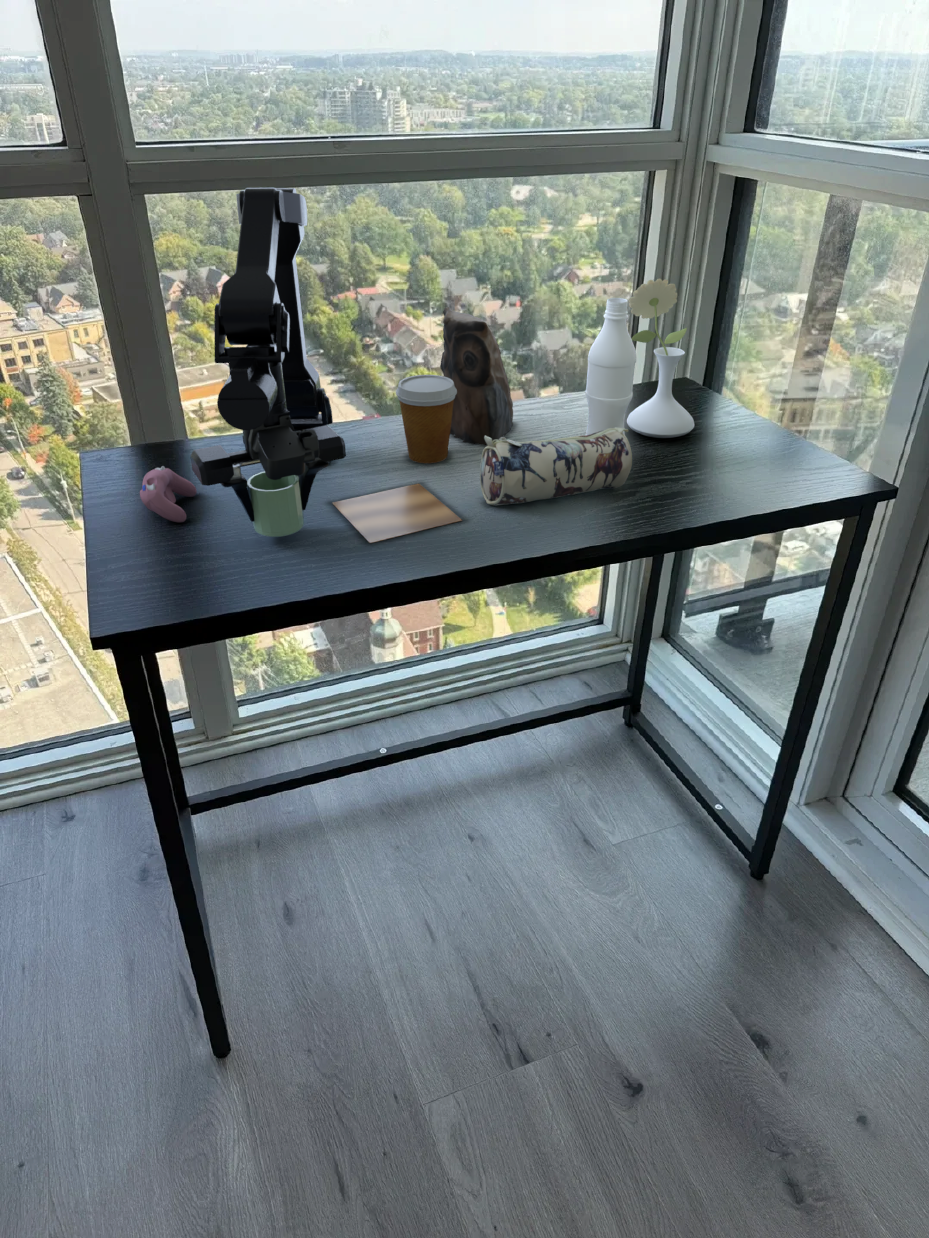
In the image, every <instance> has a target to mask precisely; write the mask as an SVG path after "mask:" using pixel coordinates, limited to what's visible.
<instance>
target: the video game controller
mask: <svg viewBox="0 0 929 1238" xmlns="http://www.w3.org/2000/svg"><path fill="white" fill-rule="evenodd" d="M141 485H142V487H141V489H140V490H139V498H140V500H141V502H142V504H143V505H144V506H145V508H147V510H149V511H151V512H154V513H155V514H157V515H159V516H160V517H162V518H164V519H165V520H168V521H171V522H174V523H184V522H185V521H187V514H186V511H185V510H184V509H183V508H182V507H181V506H179V505H178V504H176V502H177V498H176V496H175V494H176V495H179V496H183V497H190V498H192V497H195V496H196V495H197V492H198V490H197V488H196V486H195V484H193V483H192V482H191V481H190V480H189V479H186V478H185V477H183V476H181V475H179V474H177V473H176V472H175V471H173V470H172V469H170V468H169V467H165V466H164V465H162V466H161V467H155V468H154V469H152V470H149V471H148V472H146V474H145V475H144V477H143V479H142V484H141ZM174 493H175V494H174Z"/></svg>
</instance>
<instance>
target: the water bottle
mask: <svg viewBox="0 0 929 1238" xmlns="http://www.w3.org/2000/svg"><path fill="white" fill-rule="evenodd" d="M628 304H629V299H626V298H623V297H610V298H607V300H606V305H605V311H604V314H603V318H604V321H603V325H602V327H601V330H600V331H599V333H598V334H597V336H596V337H595V339H594V341H593V342H592V345H591V346H590V349H589V352H588V356H587V374H586V387H585V391H584V393H585V396H586V402H587V408H588V418H587V427H586V431H585V434H584V435H586V436H587V435H590V434H593V433H596V432H599V431H603V430H606V429H609V428H615V427H618V428H625V419H626V413H627V410H628V407H629V405H630V403H631V401H632V399H633V396H634V392H633V388H634V387H633V386H634V379H635V369H636V363H637V351H636V348H635V345H634V341H633V340H632V339H631V338H632V337H631V334H630V332H629V329H628V325H627V324H628V323H627V320H628V319H629V315H628V314H629V311H628ZM625 433H626V432H625V431H623V433H622V434H624V435H625V436H626V434H625Z"/></svg>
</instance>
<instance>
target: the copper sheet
mask: <svg viewBox="0 0 929 1238" xmlns="http://www.w3.org/2000/svg"><path fill="white" fill-rule="evenodd" d="M331 504H332V505H333V506H334V507H335V508H336V509H337V510H338V511H339V512H340V514H342V516H343V517H345V518H346V520H347V521H348V522H349V523H350V524H351V525H352V526H353V528H354V529H356V530H357V532H358V533H359V534H360V535H361V536H362V537H363V538H364V539H365V540H366V541H367V543H369V544H374V543H378V542H381V541H386V540H389V539H390V540H391V539H394V538H399V537H402V536H406V535H410V534H414V533H419V532H422V531H426V530H427V531H428V530H430V529H434V528H438V527H443V526H447V525H451V524H454V523H458V522H463V519H462V518H460V516H458V515H457V514H456V513H454V511H452V510H451V509H450V508H449V507H448V506H447V505H445V504H444V503H443V502H442V501H441V500H439V499H438V498H437V497H436V496H435V495H433V494H432V493H431V492H430V491H429V490H427V489H426V488H425V487H424V486H423V485H421V483H420V482H419V483H414V484H410V485H405V486H401V487H397V488H391V489H386V490H382V491H378V492H374V493H370V494H365V495H360V496H356V497H350V498H347V499H342V500H337V501H333V502H331Z"/></svg>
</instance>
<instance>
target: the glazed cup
mask: <svg viewBox="0 0 929 1238" xmlns="http://www.w3.org/2000/svg"><path fill="white" fill-rule="evenodd" d="M247 489H248V493H249V496H250V500H251V504H252V507H253V511H254V521H253V522H252V525H253V530H254V531H255V532H256V533H257V534H259V535H261V536H265V537H269V538H270V537H271V538H279V537H285V536H290V535H294V534H295V533H296V534H297V532H299V531H301V530H302V529H303V527H304V525H305V516H304V510H303V506H302V497H301V488H300V480H299V477H298V476H296V475H292V476H287V477H282V478H281V479H278V480H272V479H269V478H268V477H267V476H266V474H265V471H261V472H258V473H256V474H253V475H252V476H250V477H249V478H248V479H247Z"/></svg>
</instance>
